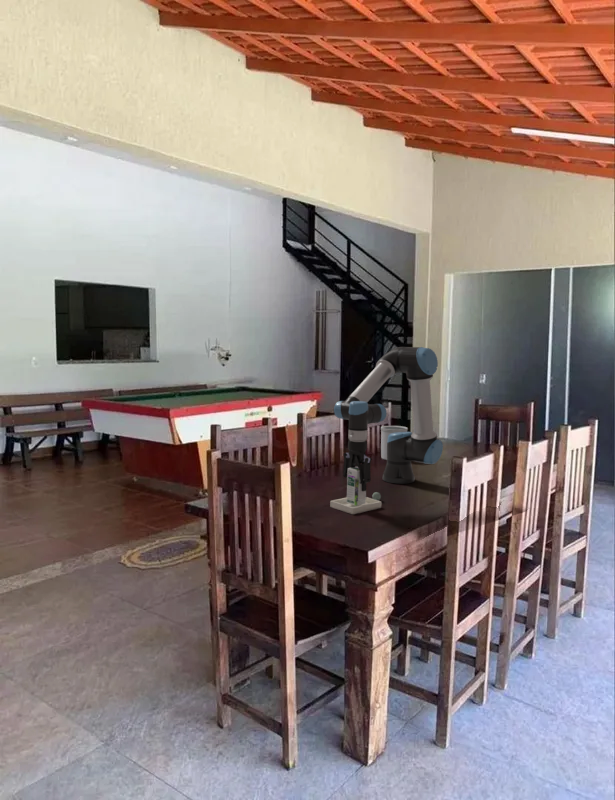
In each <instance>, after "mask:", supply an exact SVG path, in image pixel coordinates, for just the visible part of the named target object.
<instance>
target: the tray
mask: <svg viewBox="0 0 615 800" xmlns="http://www.w3.org/2000/svg"><path fill="white" fill-rule="evenodd" d="M329 503H330V504H329V505H330V506H329V507H330V508H331V509H335V510H338V511H340V512H344V513H347V514H349V515H357V514H361V513H364V512H368V511H374V510H377V509H381V508H382V501H380V500H374V499H373V498H371V497H368V496H366V503H365V504H362V505H358V506H355V505H352V504H349V503H347V496H345V497H342V498H338V499H333V500H330V502H329Z"/></svg>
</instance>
